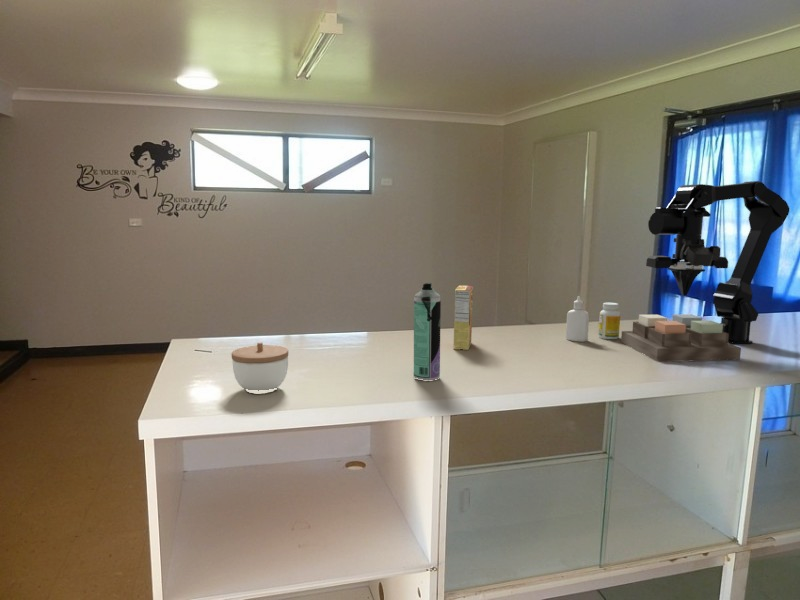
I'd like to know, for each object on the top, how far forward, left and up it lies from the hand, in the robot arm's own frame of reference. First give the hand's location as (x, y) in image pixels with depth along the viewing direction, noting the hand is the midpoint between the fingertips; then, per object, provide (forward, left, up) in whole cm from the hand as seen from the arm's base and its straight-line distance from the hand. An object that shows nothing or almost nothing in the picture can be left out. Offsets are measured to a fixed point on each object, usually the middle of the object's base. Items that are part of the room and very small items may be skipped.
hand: (684, 295), depth 152 cm
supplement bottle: (+15, -10, -13) cm, 23 cm away
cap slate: (0, +2, -8) cm, 8 cm away
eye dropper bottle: (+25, -7, -13) cm, 29 cm away
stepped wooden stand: (+4, +6, -13) cm, 15 cm away
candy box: (+57, -1, -13) cm, 59 cm away
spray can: (+69, +28, -13) cm, 76 cm away
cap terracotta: (+9, +11, -8) cm, 16 cm away
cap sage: (0, +11, -8) cm, 13 cm away
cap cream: (+9, +2, -8) cm, 12 cm away
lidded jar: (+102, +35, -13) cm, 109 cm away
